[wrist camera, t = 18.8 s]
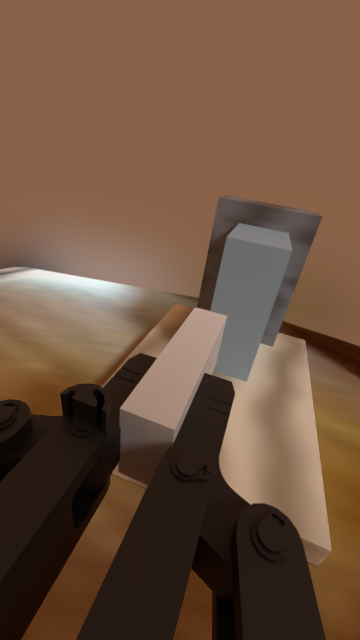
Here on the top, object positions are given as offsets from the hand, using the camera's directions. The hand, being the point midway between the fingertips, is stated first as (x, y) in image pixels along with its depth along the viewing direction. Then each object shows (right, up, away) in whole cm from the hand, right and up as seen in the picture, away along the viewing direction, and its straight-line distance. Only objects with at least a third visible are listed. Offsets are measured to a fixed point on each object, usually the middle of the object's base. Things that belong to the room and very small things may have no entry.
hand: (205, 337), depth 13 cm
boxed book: (+4, -3, +18) cm, 19 cm away
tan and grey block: (+2, -6, +16) cm, 17 cm away
